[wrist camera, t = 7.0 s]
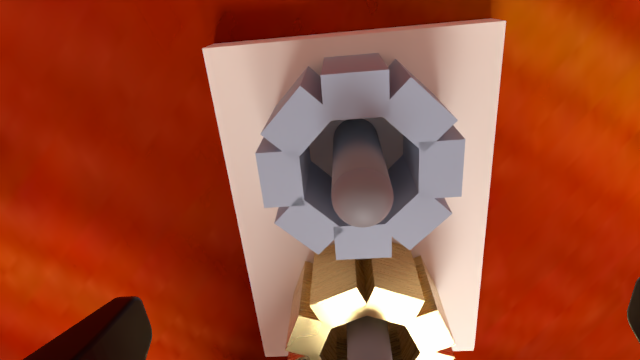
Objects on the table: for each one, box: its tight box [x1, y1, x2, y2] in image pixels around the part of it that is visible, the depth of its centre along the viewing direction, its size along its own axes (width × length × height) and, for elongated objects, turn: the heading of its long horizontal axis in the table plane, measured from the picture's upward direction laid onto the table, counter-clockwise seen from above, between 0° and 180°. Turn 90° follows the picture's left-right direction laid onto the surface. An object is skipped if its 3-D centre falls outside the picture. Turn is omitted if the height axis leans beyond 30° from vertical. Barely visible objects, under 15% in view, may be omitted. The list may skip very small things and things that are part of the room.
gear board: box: [202, 18, 506, 360], centre depth 16 cm, size 16×11×7 cm
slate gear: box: [255, 53, 465, 260], centre depth 15 cm, size 7×7×4 cm
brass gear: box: [285, 242, 455, 360], centre depth 18 cm, size 7×7×4 cm
